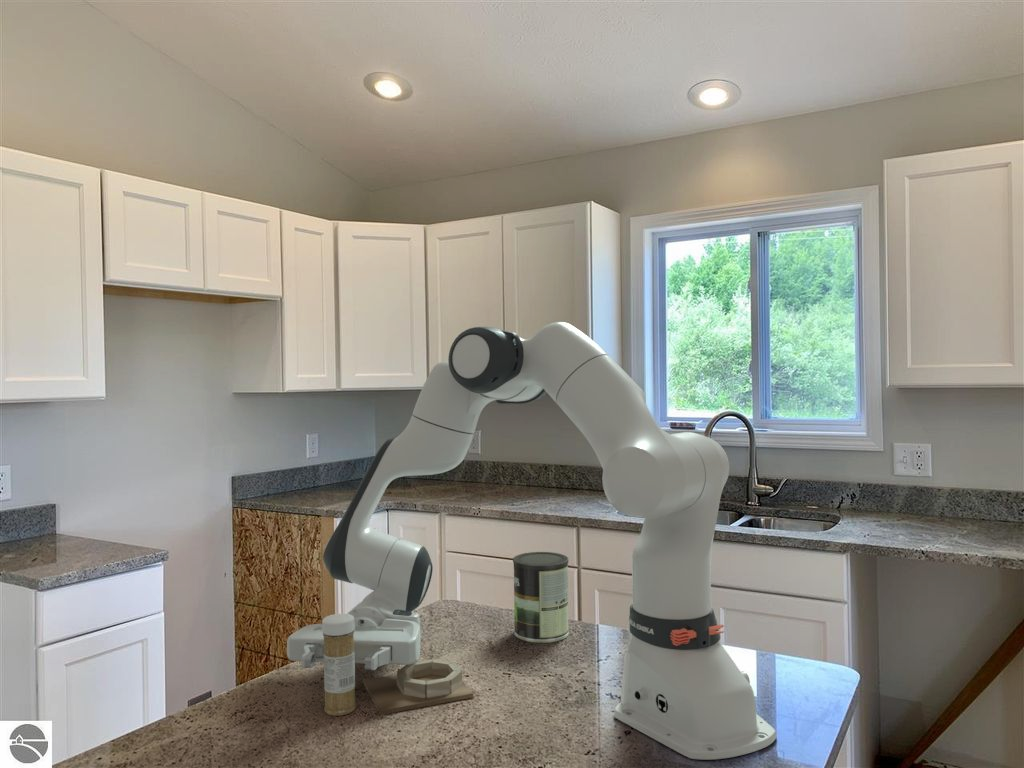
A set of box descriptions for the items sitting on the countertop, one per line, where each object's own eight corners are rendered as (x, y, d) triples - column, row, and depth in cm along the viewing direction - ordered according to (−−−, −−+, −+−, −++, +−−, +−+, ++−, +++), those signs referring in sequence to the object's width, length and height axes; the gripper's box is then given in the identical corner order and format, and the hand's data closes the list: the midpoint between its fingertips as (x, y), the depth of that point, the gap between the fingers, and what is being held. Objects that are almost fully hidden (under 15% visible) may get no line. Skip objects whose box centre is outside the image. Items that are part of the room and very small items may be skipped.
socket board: (473, 697, 112) (473, 679, 112) (380, 715, 106) (380, 696, 106) (448, 669, 123) (448, 653, 123) (363, 683, 117) (363, 667, 117)
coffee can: (511, 642, 135) (510, 564, 134) (516, 624, 145) (515, 551, 145) (568, 644, 134) (567, 565, 133) (570, 625, 144) (569, 551, 144)
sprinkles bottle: (351, 701, 111) (350, 610, 111) (359, 713, 107) (358, 619, 107) (320, 707, 109) (319, 615, 109) (327, 720, 105) (325, 624, 105)
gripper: (306, 610, 122) (268, 639, 109) (428, 613, 120) (405, 643, 106) (307, 649, 122) (269, 683, 109) (429, 652, 120) (406, 688, 106)
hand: (337, 663), depth 107 cm, fingers open, 8 cm apart
